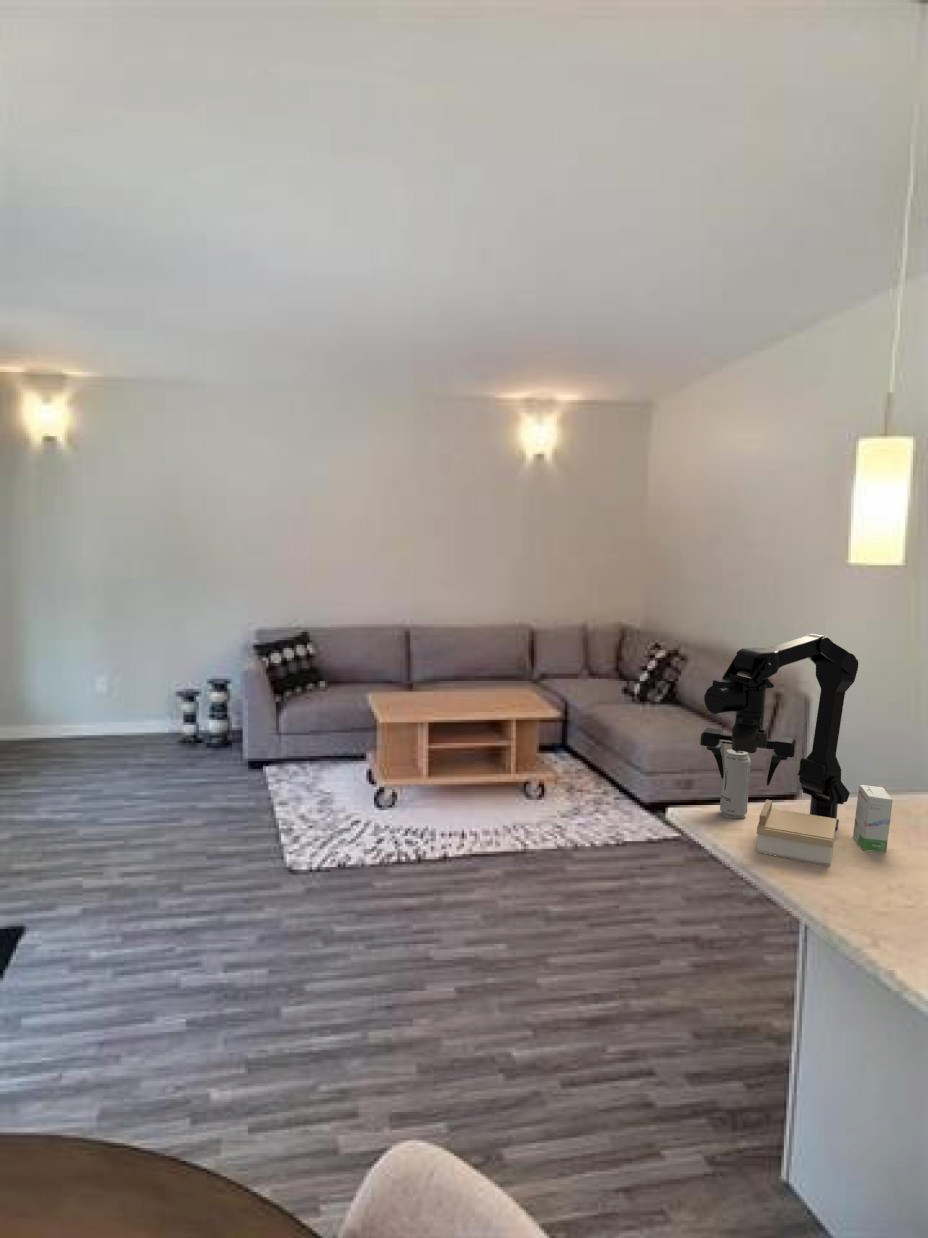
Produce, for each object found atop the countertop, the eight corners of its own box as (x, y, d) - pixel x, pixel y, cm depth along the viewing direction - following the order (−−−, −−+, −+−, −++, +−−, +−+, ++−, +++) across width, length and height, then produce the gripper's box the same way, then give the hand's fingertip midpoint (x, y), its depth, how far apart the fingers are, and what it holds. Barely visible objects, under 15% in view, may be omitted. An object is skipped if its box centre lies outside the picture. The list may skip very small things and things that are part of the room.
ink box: (852, 836, 192) (857, 783, 190) (877, 838, 191) (882, 785, 189) (862, 851, 183) (866, 796, 182) (888, 853, 182) (893, 798, 181)
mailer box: (764, 833, 192) (765, 811, 191) (833, 846, 186) (835, 823, 185) (756, 852, 181) (758, 829, 180) (829, 866, 175) (831, 842, 174)
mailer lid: (765, 813, 192) (766, 797, 192) (836, 825, 186) (837, 808, 185) (756, 834, 180) (757, 817, 179) (832, 847, 173) (833, 830, 173)
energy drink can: (716, 810, 206) (720, 748, 204) (741, 810, 206) (745, 748, 204) (724, 819, 200) (728, 755, 198) (750, 819, 200) (755, 755, 198)
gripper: (698, 712, 180) (693, 785, 182) (794, 723, 172) (788, 800, 174) (706, 701, 190) (702, 771, 192) (798, 711, 182) (793, 784, 185)
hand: (745, 781), depth 186 cm, fingers open, 9 cm apart
